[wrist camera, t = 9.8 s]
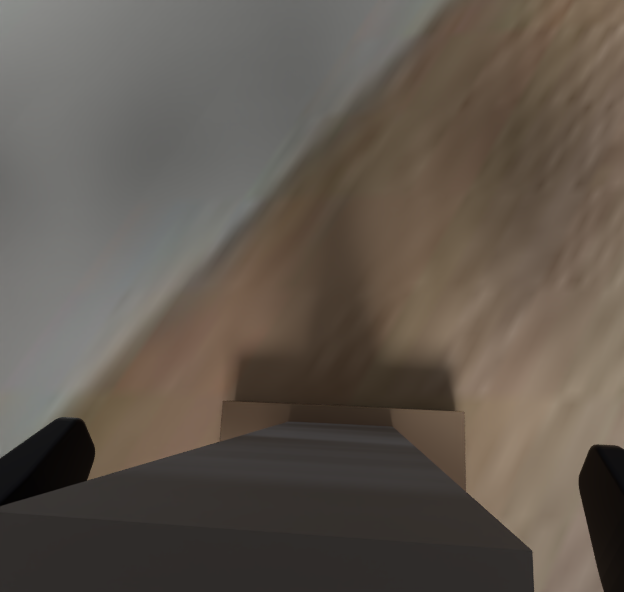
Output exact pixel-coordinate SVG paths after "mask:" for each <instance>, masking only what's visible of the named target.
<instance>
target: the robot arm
mask: <svg viewBox="0 0 624 592" xmlns="http://www.w3.org/2000/svg"><path fill="white" fill-rule="evenodd" d="M94 457H95V447H94V444H93V442H92V439H91V437H90V434H89V432H88V430H87V427H86V425H85V423H84V421H83V420H82V419H80V418H70V417H61V418H58V419H56V420H54V421H53V422H51V423H50V424H48V425H47V426H46V427H44V428H43V429H41V430H40V431H38V432H37V433H36V434H34V435H33V436H31V437H30V438H29V439H27V440H26V441H24V442H23V443H21V444H20V445H19V446H17V447H16V448H14V449H13V450H12V451H10V452H9V453H7V454H6V455H4V456H3V457H2V458H0V506H3V505H6V504H10V503H13V502H16V501H20V500H23V499H27V498H30V497H33V496H37V495H40V494H44V493H47V492H50V491H54V490H57V489H61V488H64V487H67V486H71V485H74V484H78V483H81V482H85V481H87V479H88V476H89V473H90V470H91V467H92V464H93V461H94ZM579 490H580V495H581V499H582V503H583V508H584V512H585V516H586V521H587V525H588V529H589V534H590V538H591V543H592V547H593V551H594V556H595V560H596V564H597V568H598V572H599V576H600V580H601V583H602V586H603V590H604V592H624V449H623V448H621V447H619V446H615V445H593V446H592V447H591V448H590V450H589V452H588V454H587V457H586V459H585V462H584V464H583V467H582V469H581V472H580V475H579Z"/></svg>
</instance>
